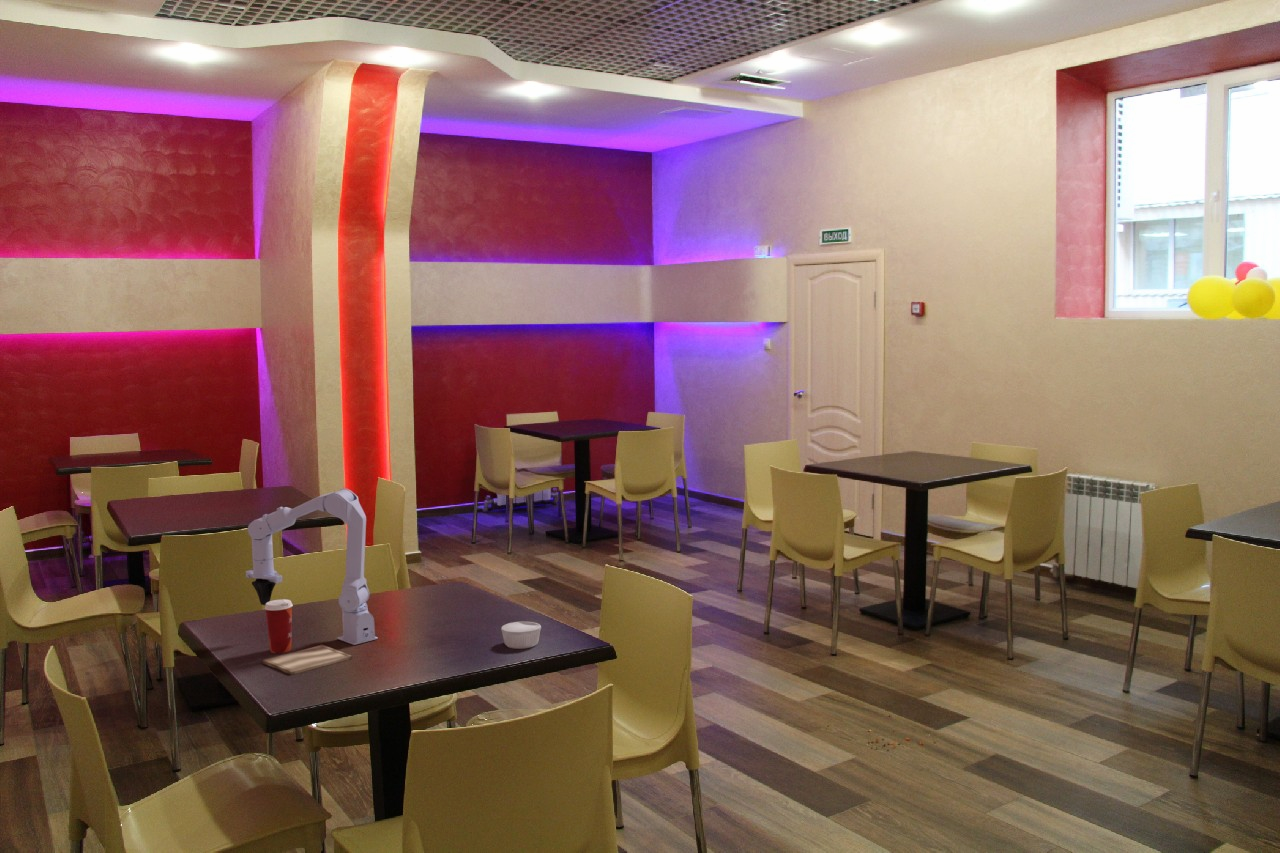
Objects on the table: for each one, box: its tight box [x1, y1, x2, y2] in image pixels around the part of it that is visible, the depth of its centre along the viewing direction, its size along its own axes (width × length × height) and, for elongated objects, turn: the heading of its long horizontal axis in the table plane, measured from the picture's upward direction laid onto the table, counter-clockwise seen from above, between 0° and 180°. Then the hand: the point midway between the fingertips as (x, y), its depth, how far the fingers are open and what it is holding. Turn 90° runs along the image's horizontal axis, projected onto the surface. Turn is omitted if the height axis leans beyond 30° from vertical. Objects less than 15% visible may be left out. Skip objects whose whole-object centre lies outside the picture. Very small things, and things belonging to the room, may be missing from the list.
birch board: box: [262, 644, 353, 676], centre depth 288 cm, size 16×18×1 cm
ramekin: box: [500, 621, 542, 650], centre depth 299 cm, size 11×11×5 cm
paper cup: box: [263, 598, 294, 654], centre depth 298 cm, size 8×8×14 cm
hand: (265, 604), depth 309 cm, fingers closed
